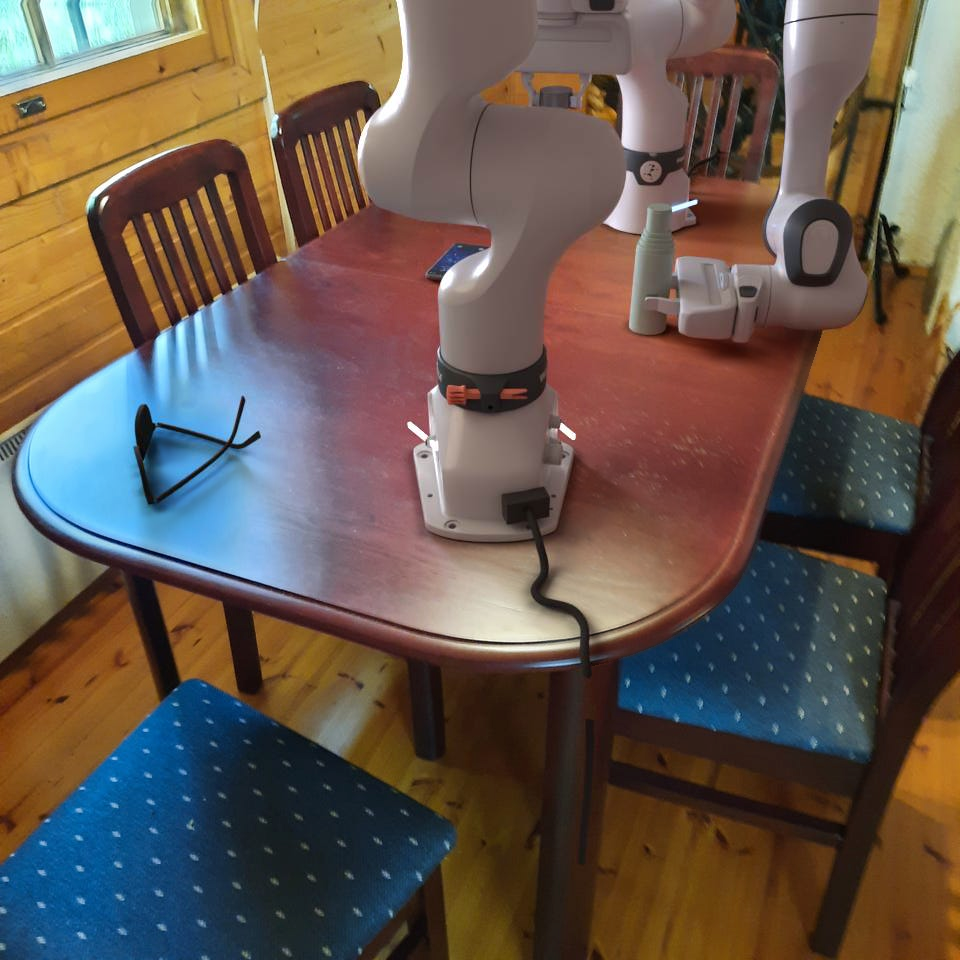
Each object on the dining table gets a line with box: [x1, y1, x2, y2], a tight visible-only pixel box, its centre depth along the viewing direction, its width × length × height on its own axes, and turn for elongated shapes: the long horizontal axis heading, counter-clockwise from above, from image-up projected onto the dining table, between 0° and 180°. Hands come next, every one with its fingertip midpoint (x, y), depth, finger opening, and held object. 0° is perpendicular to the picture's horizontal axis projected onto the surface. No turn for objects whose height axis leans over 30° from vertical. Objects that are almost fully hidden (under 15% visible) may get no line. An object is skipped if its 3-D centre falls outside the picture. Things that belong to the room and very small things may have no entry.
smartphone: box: [424, 242, 491, 282], centre depth 146 cm, size 7×1×15 cm
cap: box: [539, 85, 574, 110], centre depth 116 cm, size 4×4×2 cm
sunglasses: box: [132, 395, 262, 506], centre depth 100 cm, size 17×14×5 cm
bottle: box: [628, 203, 676, 336], centre depth 121 cm, size 5×5×18 cm
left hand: (555, 108), depth 117 cm, fingers closed on cap, 4 cm apart
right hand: (644, 292), depth 124 cm, fingers closed on bottle, 5 cm apart
